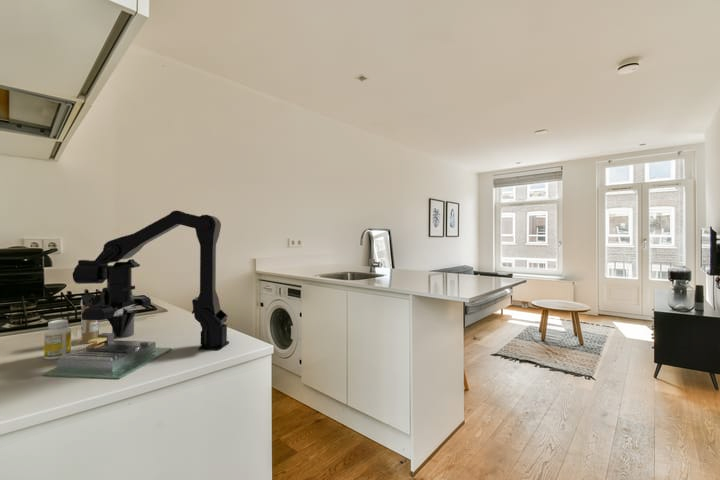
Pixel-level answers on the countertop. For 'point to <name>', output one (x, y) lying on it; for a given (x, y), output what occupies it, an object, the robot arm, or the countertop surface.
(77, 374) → the heatsink
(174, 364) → the countertop surface
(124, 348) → the grey and orange bar
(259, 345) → the countertop surface
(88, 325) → the sprinkles bottle
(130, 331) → the bottle
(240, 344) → the countertop surface
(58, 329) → the supplement bottle
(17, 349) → the countertop surface
